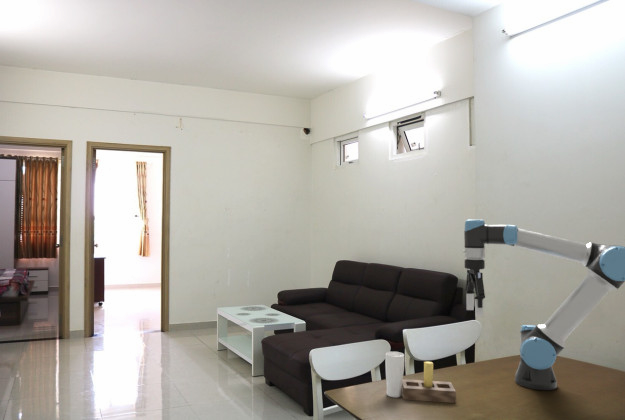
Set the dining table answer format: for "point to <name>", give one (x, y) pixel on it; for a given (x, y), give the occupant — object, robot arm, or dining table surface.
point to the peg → (428, 374)
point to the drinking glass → (394, 373)
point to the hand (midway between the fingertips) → (474, 313)
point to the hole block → (428, 391)
